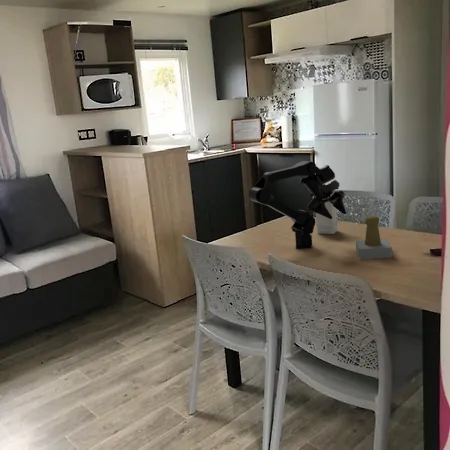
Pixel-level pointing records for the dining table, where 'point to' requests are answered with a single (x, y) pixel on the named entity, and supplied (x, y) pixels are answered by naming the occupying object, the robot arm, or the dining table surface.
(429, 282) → the dining table surface
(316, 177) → the robot arm
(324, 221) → the skincare box
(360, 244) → the podium
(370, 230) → the cork
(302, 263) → the dining table surface
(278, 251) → the dining table surface
